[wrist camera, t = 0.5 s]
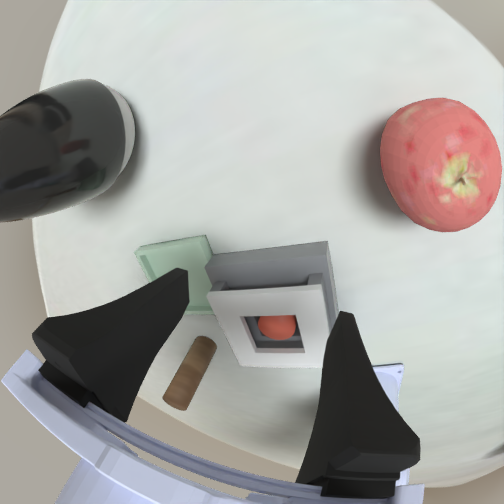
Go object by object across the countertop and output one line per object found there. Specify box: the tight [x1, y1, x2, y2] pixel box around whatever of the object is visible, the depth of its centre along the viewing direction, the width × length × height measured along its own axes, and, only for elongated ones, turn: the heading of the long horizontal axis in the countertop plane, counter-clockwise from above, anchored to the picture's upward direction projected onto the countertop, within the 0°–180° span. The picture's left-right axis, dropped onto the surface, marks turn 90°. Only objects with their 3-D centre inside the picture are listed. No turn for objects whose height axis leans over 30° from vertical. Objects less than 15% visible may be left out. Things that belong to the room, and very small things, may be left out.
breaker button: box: [258, 315, 297, 340], centre depth 23 cm, size 3×3×2 cm
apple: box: [380, 98, 502, 232], centre depth 12 cm, size 7×7×8 cm
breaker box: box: [204, 241, 339, 368], centre depth 23 cm, size 12×10×4 cm
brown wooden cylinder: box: [163, 336, 217, 411], centre depth 28 cm, size 3×3×9 cm
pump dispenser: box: [0, 79, 135, 222], centre depth 14 cm, size 10×10×15 cm
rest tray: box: [134, 235, 215, 315], centre depth 26 cm, size 8×8×1 cm
